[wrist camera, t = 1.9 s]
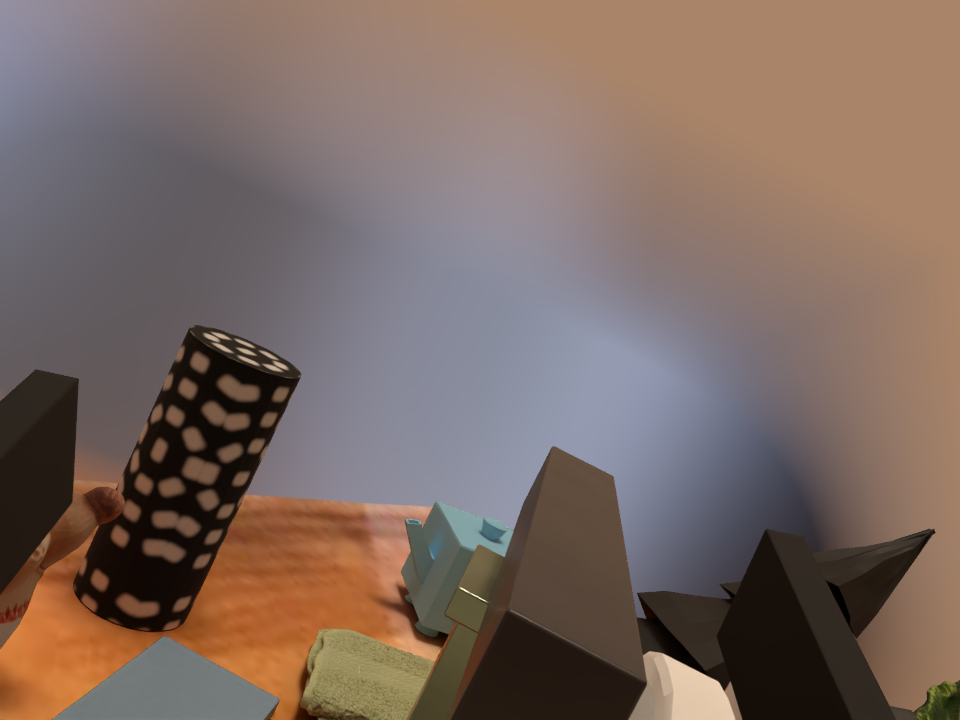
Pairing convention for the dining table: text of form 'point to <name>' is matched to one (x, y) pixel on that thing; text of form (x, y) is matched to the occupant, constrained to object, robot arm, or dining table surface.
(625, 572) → the bar
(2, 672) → the dining table surface
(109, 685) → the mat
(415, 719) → the olive green post
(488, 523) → the teapot
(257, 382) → the white-spotted black cylinder
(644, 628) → the decorative tree
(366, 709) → the washcloth
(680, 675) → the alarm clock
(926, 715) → the cabbage
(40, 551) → the figurine
